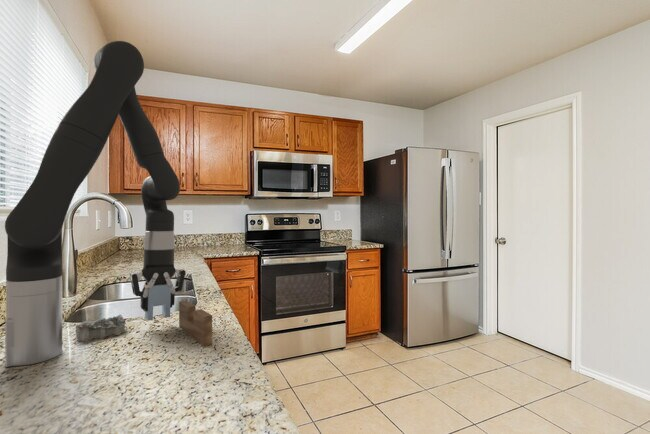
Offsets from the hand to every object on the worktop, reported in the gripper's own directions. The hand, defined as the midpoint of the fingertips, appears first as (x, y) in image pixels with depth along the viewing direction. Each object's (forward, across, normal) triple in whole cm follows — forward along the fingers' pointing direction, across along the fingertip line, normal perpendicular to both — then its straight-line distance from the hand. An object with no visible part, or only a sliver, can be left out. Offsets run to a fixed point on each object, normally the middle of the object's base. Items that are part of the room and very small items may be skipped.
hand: (157, 308), depth 92 cm
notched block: (+2, 0, 0) cm, 2 cm away
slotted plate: (+5, +6, -12) cm, 15 cm away
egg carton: (+6, -12, +5) cm, 15 cm away
